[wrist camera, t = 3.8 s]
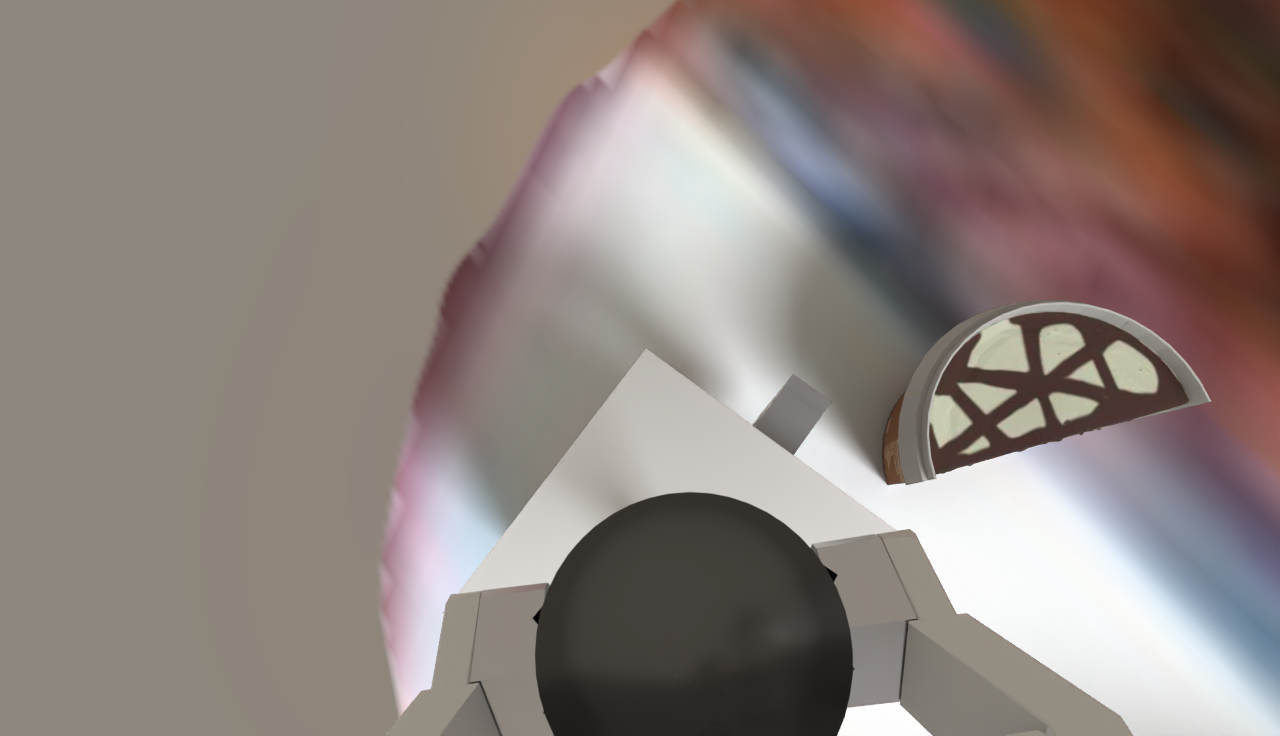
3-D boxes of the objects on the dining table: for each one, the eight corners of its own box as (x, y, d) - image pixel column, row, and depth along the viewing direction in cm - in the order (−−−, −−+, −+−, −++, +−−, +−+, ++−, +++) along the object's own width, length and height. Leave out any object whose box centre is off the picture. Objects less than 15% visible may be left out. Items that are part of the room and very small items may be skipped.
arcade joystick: (686, 377, 42) (698, 279, 25) (844, 492, 40) (968, 468, 23) (538, 575, 40) (443, 612, 23) (696, 703, 38) (717, 840, 22)
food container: (1045, 317, 41) (1161, 253, 32) (1089, 428, 40) (1224, 398, 30) (822, 379, 41) (870, 333, 31) (859, 492, 40) (921, 482, 30)
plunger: (666, 492, 30) (660, 431, 10) (750, 556, 30) (915, 620, 10) (604, 577, 30) (470, 684, 10) (688, 643, 29) (729, 900, 9)
